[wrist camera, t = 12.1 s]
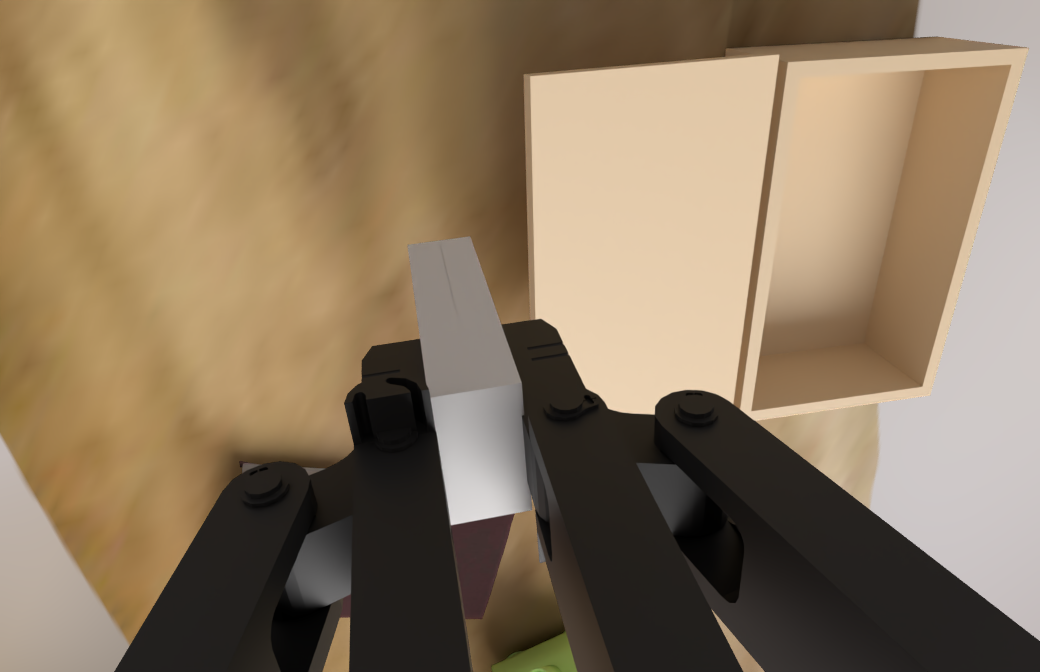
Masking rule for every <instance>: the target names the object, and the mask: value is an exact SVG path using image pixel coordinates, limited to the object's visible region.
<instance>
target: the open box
mask: <svg viewBox="0 0 1040 672" xmlns="http://www.w3.org/2000/svg"><path fill="white" fill-rule="evenodd" d="M1028 50H1029V48H1027V47H1018V46H1009V45H1001V44H994V43H985V42H977V41H969V40H960V39H952V38H944V37H921V38H903V39H885V40H867V41H849V42H831V43H813V44H795V45H777V46H760V47H742V48H726V53H725V57H729V56H740V55H752V54H764V53H772V54H779V62H778V70H777V77H776V85H775V92H774V100H773V107H772V115H771V123H770V130H769V138H768V145H767V153H766V160H765V168H764V175H763V183H762V191H761V198H760V206H759V213H758V221H757V228H756V236H755V243H754V251H753V259H752V266H751V274H750V281H749V289H748V296H747V304H746V311H745V319H744V327H743V334H742V342H741V349H740V357H739V364H738V372H737V380H736V387H735V395H734V402H733V404H734V405H735V406H736V407H738V408H739V409H740V410H741V411H743V412H744V413H745V414H747V415H748V416H749V417H750V418H752V419H753V420H754V421H757V420H764V419H771V418H778V417H785V416H792V415H799V414H805V413H812V412H819V411H826V410H833V409H840V408H847V407H853V406H860V405H867V404H874V403H881V402H887V401H895V400H901V399H908V398H915V397H922V396H929V395H930V394H931V390H932V387H933V383H934V380H935V376H936V373H937V369H938V365H939V362H940V359H941V355H942V352H943V348H944V345H945V341H946V338H947V334H948V331H949V327H950V324H951V320H952V317H953V313H954V310H955V306H956V303H957V299H958V296H959V292H960V289H961V285H962V281H963V278H964V275H965V271H966V268H967V264H968V260H969V257H970V253H971V250H972V247H973V243H974V239H975V236H976V232H977V229H978V225H979V222H980V218H981V215H982V211H983V208H984V204H985V201H986V197H987V193H988V190H989V187H990V183H991V179H992V176H993V173H994V169H995V166H996V162H997V159H998V155H999V151H1000V148H1001V144H1002V141H1003V138H1004V134H1005V131H1006V127H1007V124H1008V120H1009V117H1010V113H1011V110H1012V106H1013V103H1014V99H1015V96H1016V92H1017V88H1018V85H1019V82H1020V78H1021V74H1022V71H1023V67H1024V64H1025V60H1026V57H1027V53H1028Z"/></svg>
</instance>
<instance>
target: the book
mask: <svg viewBox="0 0 1040 672" xmlns="http://www.w3.org/2000/svg"><path fill="white" fill-rule="evenodd" d="M239 463H240V468H241V467H242V473H244V472H245V471H247V470H249V469H251V468H254V467H257V466H259V464H253V463H248V462H242V461H239ZM303 468H305V469H306V471H307V473H308V475H311V474H314V473H316V472H319V471H321V470H324V469H323V468H307V467H303ZM514 514H515V513H514ZM514 514H508V515H503V516H498V517H492V518H487V519H482V520H476V521H471V522H466V523H460V524H455V525H451V529H452V535H453V541H454V547H455V554H456V561H457V568H458V574H459V581H460V588H461V595H462V601H463V608H464V615H465V619H482V618H483V615H484V612H485V609H486V606H487V603H488V600H489V597H490V594H491V591H492V587H493V584H494V581H495V578H496V575H497V571H498V568H499V564H500V561H501V558H502V555H503V552H504V548H505V545H506V542H507V539H508V535H509V531H510V527H511V523H512V520H513V517H514ZM350 613H351V594H350V595H348V596H346V597H344V598H343V608H342V612H341V615H340V617H350Z"/></svg>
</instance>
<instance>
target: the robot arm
mask: <svg viewBox="0 0 1040 672" xmlns="http://www.w3.org/2000/svg"><path fill="white" fill-rule="evenodd" d="M408 252H409V259H410V267H411V274H412V282H413V289H414V297H415V304H416V311H417V319H418V326H419V334H420V339H416V340H410V341H403V342H397V343H390V344H383V345H377V346H372V347H371V349H370V350H369V351H368V353H367V354H366V356H365V357H364V358H363V360H362V383H360V384H358V385H357V386H355V387H354V388H353V389H352V390H351V391H350V392H349V393H348V394H347V397H346V400H345V402H344V405H345V409H346V413H347V417H348V422H349V426H350V430H351V434H352V439H353V443H354V450H353V451H352V452H351V453H350V454H349V455H348V456H347V457H345V458H344V459H343V460H341V461H340V462H338V463H337V464H334V465H332V466H330V467H328V468H326V469H324V470H321V471H319V472H316V473H314V474H311V475H308V473H307V471H306V469H305V468H303V467H301V466H299V465H297V464H295V463H289V462H281V461H280V462H273V463H266V464H262V465H259V466H257V467H254V468H251V469H249V470H247V471H245V472H244V473H242V474H240V475H239V476H237V477H236V478H234V479H233V480H232V481H231V482H230V483H229V484H228V486H227V487H226V488H225V489H224V490H223V491H222V493H221V495H220V496H219V498H218V500H217V501H216V503H215V505H214V506H213V508H212V510H211V511H210V513H209V515H208V516H207V518H206V520H205V521H204V523H203V525H202V526H201V528H200V530H199V531H198V533H197V535H196V536H195V538H194V540H193V541H192V543H191V545H190V546H189V548H188V550H187V551H186V553H185V555H184V556H183V558H182V560H181V561H180V563H179V565H178V566H177V568H176V570H175V571H174V573H173V575H172V576H171V578H170V580H169V581H168V583H167V585H166V586H165V588H164V590H163V591H162V593H161V595H160V596H159V598H158V600H157V601H156V603H155V605H154V606H153V608H152V610H151V611H150V613H149V615H148V616H147V618H146V620H145V621H144V623H143V625H142V626H141V628H140V630H139V631H138V633H137V635H136V636H135V638H134V640H133V641H132V643H131V645H130V646H129V648H128V650H127V651H126V653H125V655H124V657H123V658H122V660H121V662H120V663H119V665H118V666H117V668H116V670H115V671H114V672H322V671H323V668H324V665H325V662H326V659H327V656H328V652H329V649H330V646H331V643H332V640H333V637H334V634H335V631H336V627H337V624H338V621H339V618H340V615H341V612H342V608H343V598H344V597H346V596H348V595H350V594H351V613H350V661H349V672H473V668H472V662H471V655H470V648H469V642H468V635H467V628H466V621H465V615H464V608H463V601H462V595H461V588H460V581H459V574H458V568H457V561H456V554H455V547H454V541H453V535H452V529H451V525H455V524H460V523H466V522H471V521H476V520H482V519H487V518H492V517H498V516H503V515H508V514H514V513H519V512H524V511H530V510H532V502H531V495H532V499H533V502H534V506H535V511H536V523H537V536H538V549H539V561H540V563H542V562H546V564H547V568H548V571H549V575H550V578H551V582H552V585H553V589H554V592H555V596H556V599H557V603H558V606H559V610H560V613H561V617H562V620H563V624H564V627H565V631H566V634H567V638H568V641H569V645H570V648H571V652H572V655H573V659H574V662H575V666H576V669H577V672H743V670H742V668H741V667H740V665H739V663H738V661H737V659H736V657H735V655H734V653H733V651H732V649H731V647H730V645H729V643H728V641H727V639H726V637H725V635H724V633H723V631H722V630H721V628H720V626H719V624H718V622H717V620H716V618H715V616H714V614H713V612H712V610H713V611H714V612H715V614H716V615H717V616H718V617H719V618H720V619H721V621H722V622H723V623H724V624H725V625H726V626H727V628H728V629H729V630H730V631H731V632H732V633H733V635H734V636H735V637H736V638H737V639H738V641H739V642H740V643H741V644H742V645H743V646H744V648H745V649H746V650H747V651H748V652H749V653H750V655H751V656H752V657H753V658H754V659H755V660H756V662H757V663H758V664H759V665H760V666H761V668H762V669H763V670H764V671H765V672H1040V641H1039V640H1038V639H1036V638H1035V637H1034V636H1032V635H1031V634H1030V633H1028V632H1027V631H1026V630H1025V629H1023V628H1022V627H1021V626H1019V625H1018V624H1017V623H1016V622H1014V621H1013V620H1012V619H1010V618H1009V617H1008V616H1007V615H1005V614H1004V613H1003V612H1001V611H1000V610H999V609H998V608H996V607H995V606H994V605H992V604H991V603H990V602H988V601H987V600H986V599H985V598H983V597H982V596H981V595H979V594H978V593H977V592H976V591H974V590H973V589H972V588H970V587H969V586H968V585H966V584H965V583H963V581H961V580H960V579H959V578H957V577H956V576H955V575H953V574H952V573H951V572H950V571H948V570H947V569H946V568H944V567H943V566H942V565H940V564H939V563H938V562H937V561H935V560H934V559H933V558H932V557H930V556H929V555H927V554H926V553H925V552H924V551H922V550H921V549H920V548H919V547H917V546H916V545H915V544H913V543H912V542H911V541H910V540H908V539H907V538H906V537H904V536H903V535H902V534H900V533H899V532H898V531H897V530H895V529H894V528H893V527H891V526H890V525H889V524H888V523H886V522H885V521H884V520H882V519H881V518H880V517H879V516H877V515H876V514H874V513H873V512H872V511H871V510H869V509H868V508H867V507H866V506H864V505H863V504H862V503H860V502H859V501H858V500H857V499H855V498H854V497H853V496H851V495H850V494H849V493H847V492H846V491H845V490H844V489H842V488H841V487H840V486H838V485H837V484H836V483H835V482H833V481H832V480H831V479H829V478H828V477H827V476H825V475H824V474H823V473H822V472H820V471H819V470H818V469H816V468H815V467H814V466H813V465H811V464H810V463H809V462H807V461H806V460H805V459H803V458H802V457H801V456H800V455H798V454H797V453H796V452H794V451H793V450H792V449H791V448H789V447H788V446H787V445H785V444H784V443H783V442H781V441H780V440H779V439H778V438H776V437H775V436H774V435H772V434H771V433H770V432H769V431H767V430H766V429H765V428H763V427H762V426H761V425H759V424H758V423H757V422H756V421H754V420H753V419H752V418H750V417H749V416H748V415H747V414H745V413H744V412H743V411H741V410H740V409H739V408H738V407H736V406H735V405H734V404H732V403H731V402H730V401H728V400H726V399H725V398H723V397H721V396H719V395H717V394H714V393H710V392H706V391H702V390H682V391H677V392H672V393H670V394H668V395H666V396H664V397H663V398H661V399H660V400H659V402H658V403H657V404H656V406H655V414H632V413H623V412H618V411H614V410H610V409H608V407H607V405H606V403H605V402H604V401H603V400H602V398H601V397H600V396H599V395H598V394H596V393H594V392H592V391H590V390H588V389H586V388H585V386H584V384H583V382H582V379H581V377H580V375H579V373H578V371H577V369H576V367H575V365H574V363H573V361H572V359H571V357H570V355H569V354H568V351H567V349H566V347H565V345H563V341H562V339H561V337H560V335H559V333H558V331H557V329H556V328H555V327H553V326H552V325H550V324H549V323H547V322H546V321H544V320H542V319H536V320H529V321H523V322H516V323H509V324H503V325H501V323H500V320H499V317H498V314H497V311H496V308H495V305H494V303H493V300H492V297H491V294H490V291H489V288H488V286H487V283H486V280H485V277H484V274H483V271H482V269H481V266H480V263H479V260H478V257H477V254H476V252H475V249H474V246H473V243H472V240H471V237H462V238H455V239H447V240H440V241H433V242H425V243H418V244H411V245H408ZM711 609H712V610H711Z"/></svg>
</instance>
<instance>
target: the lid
mask: <svg viewBox="0 0 1040 672" xmlns="http://www.w3.org/2000/svg"><path fill="white" fill-rule="evenodd" d="M778 62H779V54H772V53H764V54H752V55H740V56H729V57H717V58H706V59H694V60H682V61H671V62H659V63H647V64H636V65H624V66H612V67H601V68H589V69H578V70H566V71H554V72H543V73H531V74H524V110H525V149H526V188H527V227H528V266H529V305H530V320H536V319H542V320H544V321H546V322H547V323H549V324H550V325H552V326H553V327H555V328H556V329H557V331H558V333H559V335H560V337H561V339H562V341H563V345H565V347H566V349H567V351H568V354H569V355H570V357H571V359H572V361H573V363H574V365H575V367H576V369H577V371H578V373H579V375H580V377H581V379H582V382H583V384H584V386H585V388H586V389H588V390H590V391H592V392H594V393H596V394H598V395H599V396H600V397H601V398H602V400H603V401H604V402H605V403H606V405H607V407H608V409H610V410H614V411H618V412H623V413H632V414H655V406H656V404H657V403H658V402H659V400H660V399H661V398H663V397H664V396H666V395H668V394H670V393H672V392H677V391H682V390H702V391H706V392H710V393H714V394H717V395H719V396H721V397H723V398H725V399H726V400H728V401H730V402H731V403H732V404H733V402H734V395H735V387H736V380H737V372H738V364H739V357H740V349H741V342H742V334H743V327H744V319H745V311H746V304H747V296H748V289H749V281H750V274H751V266H752V259H753V251H754V243H755V236H756V228H757V221H758V213H759V206H760V198H761V191H762V183H763V175H764V168H765V160H766V153H767V145H768V138H769V130H770V123H771V115H772V107H773V100H774V92H775V85H776V77H777V70H778Z"/></svg>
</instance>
